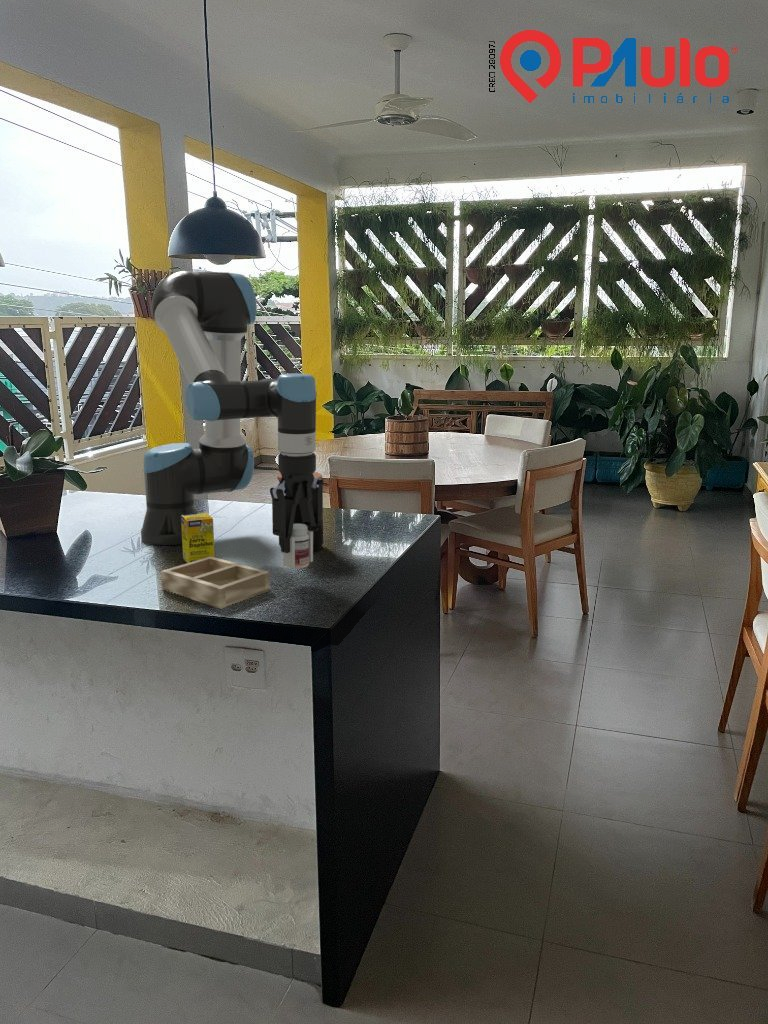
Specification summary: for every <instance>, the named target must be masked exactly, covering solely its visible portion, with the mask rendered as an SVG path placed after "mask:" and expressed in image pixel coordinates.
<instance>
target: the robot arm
mask: <svg viewBox="0 0 768 1024" xmlns="http://www.w3.org/2000/svg"><path fill="white" fill-rule="evenodd" d="M151 297H152V298H151V306H150V307H151V314H152V317H153V319H154V322H155V324H156V325H157V327H158V328H159V329H160V330H161V331H163V333H165V335H166V337H167V339H168V341H169V343H170V345H171V348H172V349H173V352H174V354H175V357H176V358H177V360H178V362H179V365H180V367H181V369H182V371H183V373H184V375H185V377H186V379H187V382H188V384H187V385H186V389H185V393H184V394H185V396H184V397H185V399H184V400H185V406H186V411H187V413H188V416H189V417H190V418H191V419H192V420H194V421H204V422H205V428H204V429H205V432H204V434H203V435H202V436H201V437H200V438H199V441H198V444H199V446H198V447H197V448H193V446H192V444H190V443H188V442H178V443H177V442H174V443H168V444H163V445H158V446H154V447H153V448H150V449H148V450H147V451H146V452H145V453H144V456H143V469H142V471H143V474H144V475H143V476H144V486H145V487H144V488H145V489H144V490H145V502H146V503H145V504H146V510H145V515H144V517H143V522H142V523H143V524H142V527H141V529H140V535H141V536H140V537H141V541H142V542H143V543H145V544H149V545H156V546H173V545H174V546H176V545H182V525H181V515H191V514H198V512H197V509H196V506H195V505H196V504H195V496H196V495H205V494H215V493H224V492H225V493H226V492H227V493H232V492H234V491H241V490H243V489H245V488H247V487H248V486H249V485H250V483H251V481H252V479H253V477H254V470H255V458H254V451H253V449H252V448H251V446H250V445H248V444H247V440H246V438H244V436H242V435H241V419H259V418H277V450H278V452H279V453H278V455H277V457H278V458H277V459H278V461H277V462H278V472H279V474H281V475H282V477H281V481H280V485H279V486H278V485H277V486H276V487H270V489H269V493H270V496H271V497H270V498H271V505H272V506H271V511H272V512H271V513H272V515H271V516H272V520H271V521H272V535H273V536H278V537H279V536H280V537H281V547H280V551H281V553H282V567H286V568H288V569H289V568H290V569H296V568H295V537H292V531H293V524H294V518H295V512H296V506H297V505H298V504H299V505H300V510H301V516H302V521H303V524H305V525H307V529H308V532H307V534H308V535H309V563H312V562H314V552H313V544H314V531H317V530H318V529H319V527H317V526H318V525H321V523H322V486H323V485H324V479H323V478H322V479H319V478H314V475H313V473H314V472H316V470H317V455H316V453H315V451H316V450H317V449H316V448H317V445H316V441H317V440H316V435H317V434H316V432H317V430H316V429H317V396H318V395H317V391H316V390H317V389H316V379H315V377H314V375H312V374H308V373H300V372H299V373H294V372H293V373H289V372H288V373H282V374H281V373H280V375H278V377H277V378H276V377H274V378H263V379H260V380H241V378H242V377H241V374H242V373H241V372H242V371H241V370H242V369H241V368H242V367H241V364H242V361H241V358H242V338H243V337H245V336H246V334H247V333H248V325H249V326H250V325H251V324H253V323H254V322H255V320H256V317H257V314H258V313H257V307H258V306H257V297H256V295H255V290H254V288H253V286H252V283H251V281H250V280H249V279H248V277H246V276H245V275H244V274H241V273H234V272H233V273H232V272H229V271H228V272H226V271H225V272H223V271H221V272H220V271H219V272H217V271H192V270H191V271H190V270H181V271H177V272H174V273H171V274H170V275H168V276H166V277H165V278H164V279H163V280H161V282H160V283H159V284H158V285H157V287H155V290H154V292H153V295H152V296H151ZM323 487H324V486H323ZM290 499H293V500H290ZM315 518H316V519H315Z"/></svg>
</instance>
